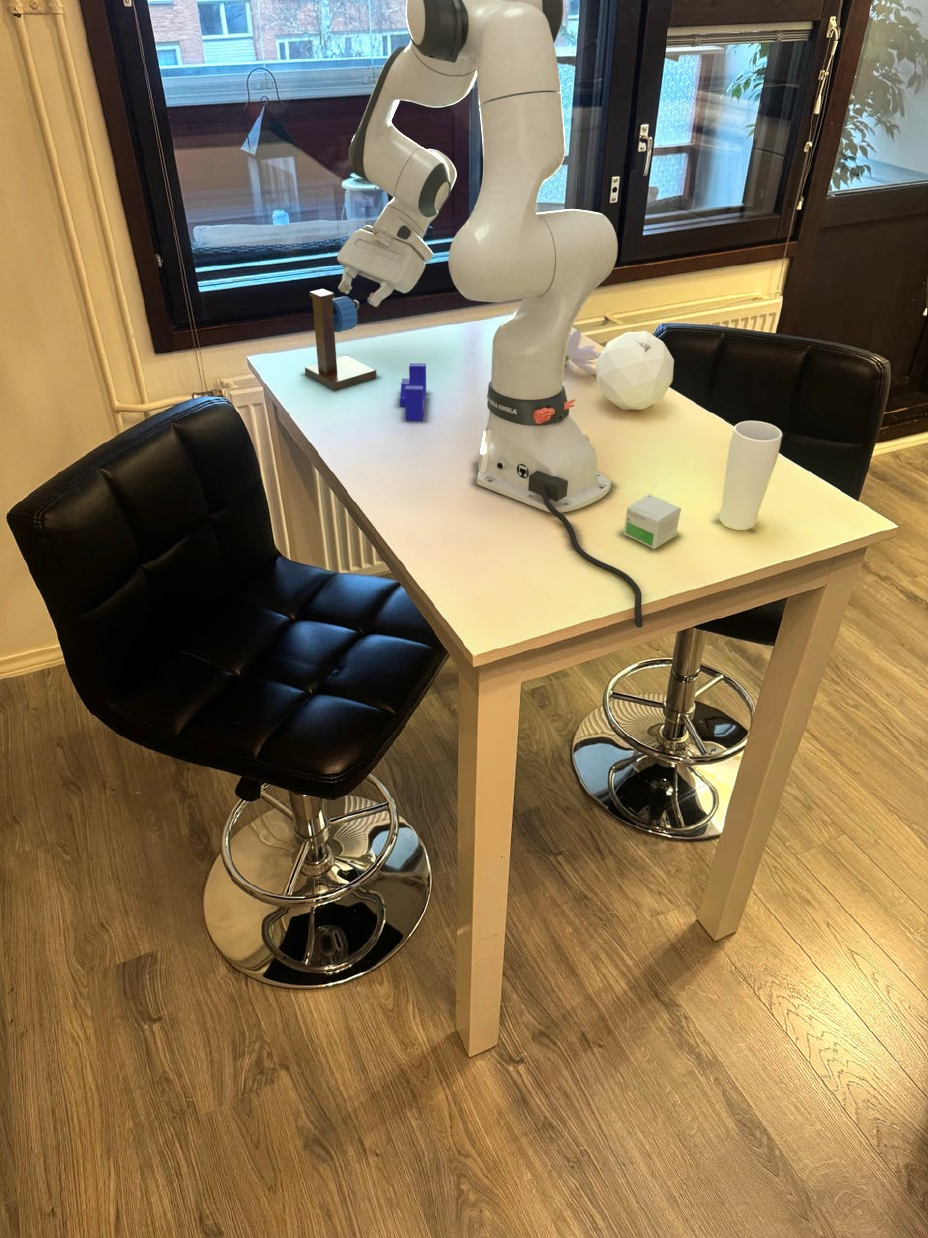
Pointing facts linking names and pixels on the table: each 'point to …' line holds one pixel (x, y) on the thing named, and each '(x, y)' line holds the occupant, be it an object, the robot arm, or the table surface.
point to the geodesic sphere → (635, 370)
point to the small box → (652, 521)
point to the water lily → (580, 353)
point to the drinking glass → (748, 472)
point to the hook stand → (333, 349)
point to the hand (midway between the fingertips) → (356, 297)
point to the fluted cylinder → (344, 314)
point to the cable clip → (414, 392)
